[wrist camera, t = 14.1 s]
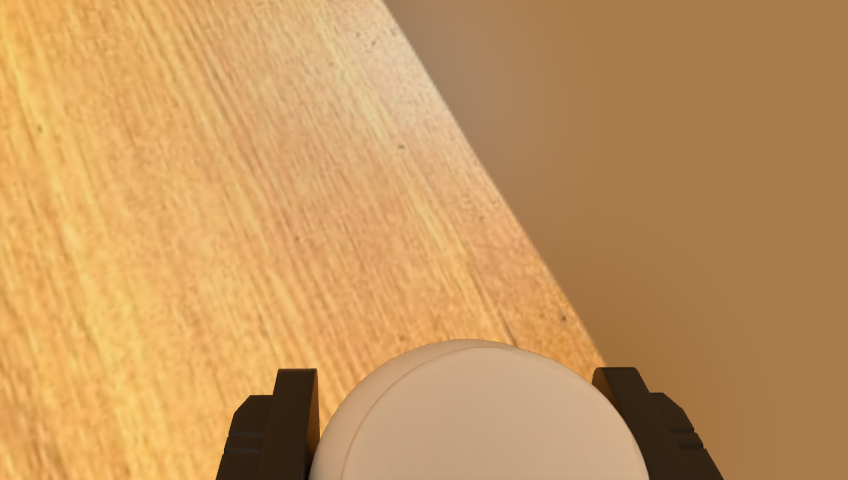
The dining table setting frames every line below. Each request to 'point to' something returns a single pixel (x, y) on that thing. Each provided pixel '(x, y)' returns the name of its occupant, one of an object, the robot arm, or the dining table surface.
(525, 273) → the dining table surface
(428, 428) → the supplement bottle
